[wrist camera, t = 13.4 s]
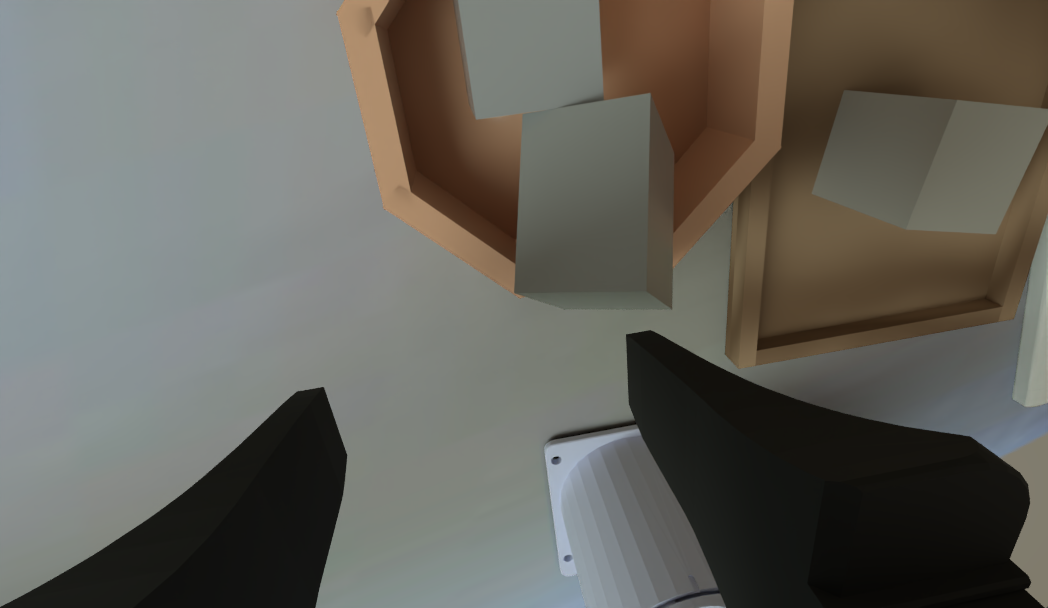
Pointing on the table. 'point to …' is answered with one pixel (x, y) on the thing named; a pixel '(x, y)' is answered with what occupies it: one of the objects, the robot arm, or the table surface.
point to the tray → (861, 240)
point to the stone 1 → (529, 54)
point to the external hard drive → (1034, 333)
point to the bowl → (495, 143)
